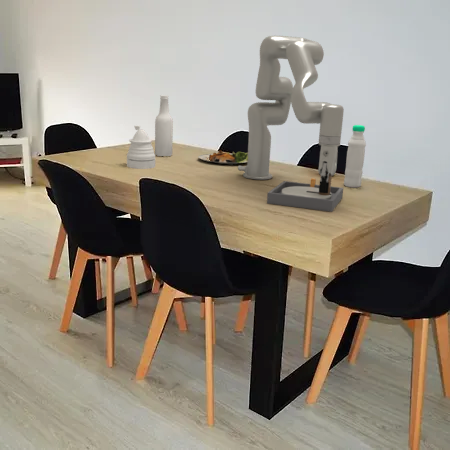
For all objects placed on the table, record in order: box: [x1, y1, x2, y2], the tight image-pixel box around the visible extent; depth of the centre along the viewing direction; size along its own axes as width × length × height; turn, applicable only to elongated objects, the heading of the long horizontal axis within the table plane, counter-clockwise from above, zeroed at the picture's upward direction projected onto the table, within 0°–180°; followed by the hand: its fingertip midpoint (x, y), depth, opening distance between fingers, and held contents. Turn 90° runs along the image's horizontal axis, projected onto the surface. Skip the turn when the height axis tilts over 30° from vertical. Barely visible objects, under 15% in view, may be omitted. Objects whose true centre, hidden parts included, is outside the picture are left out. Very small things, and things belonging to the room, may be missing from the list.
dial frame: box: [266, 178, 344, 212], centre depth 201 cm, size 23×23×6 cm
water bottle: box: [343, 124, 367, 189], centre depth 225 cm, size 7×7×25 cm
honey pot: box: [126, 125, 156, 170], centre depth 249 cm, size 13×13×18 cm
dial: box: [282, 174, 333, 200], centre depth 200 cm, size 18×18×8 cm
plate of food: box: [197, 150, 248, 165], centre depth 272 cm, size 28×28×6 cm
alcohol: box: [154, 94, 174, 157], centre depth 276 cm, size 9×9×30 cm
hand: (324, 190), depth 198 cm, fingers closed on dial, 4 cm apart
